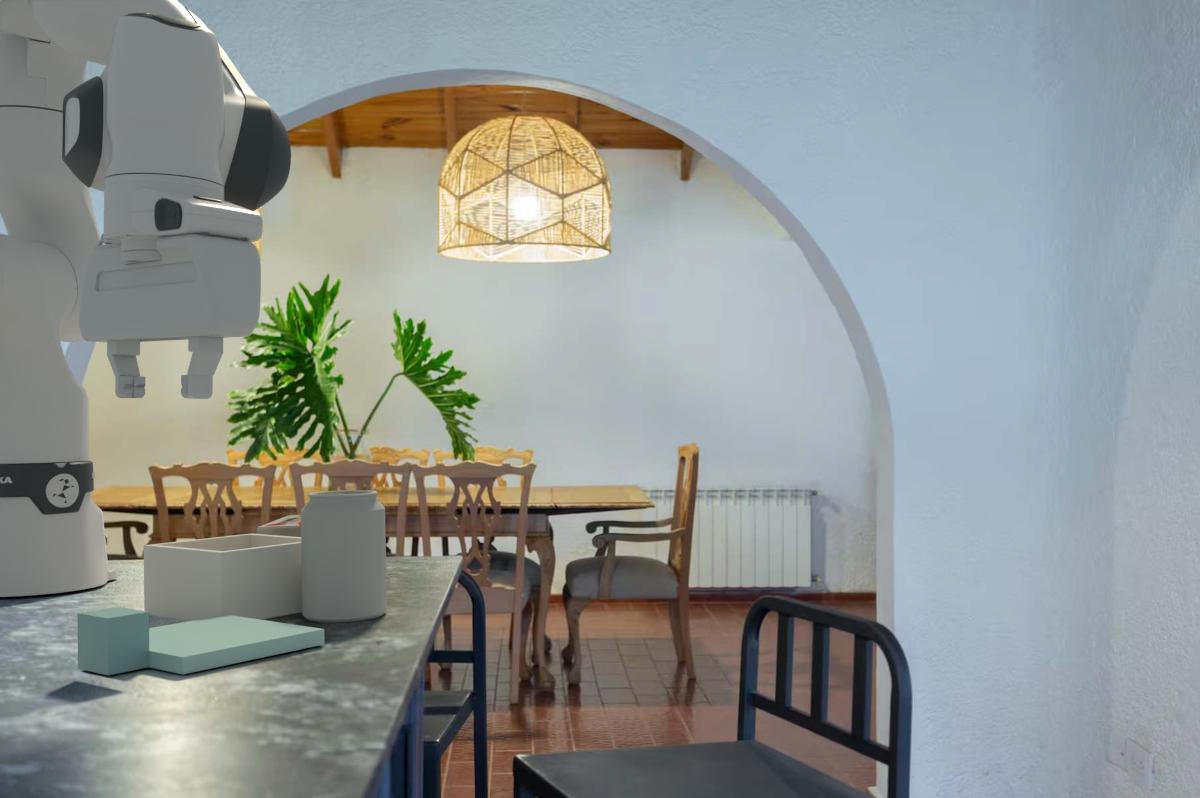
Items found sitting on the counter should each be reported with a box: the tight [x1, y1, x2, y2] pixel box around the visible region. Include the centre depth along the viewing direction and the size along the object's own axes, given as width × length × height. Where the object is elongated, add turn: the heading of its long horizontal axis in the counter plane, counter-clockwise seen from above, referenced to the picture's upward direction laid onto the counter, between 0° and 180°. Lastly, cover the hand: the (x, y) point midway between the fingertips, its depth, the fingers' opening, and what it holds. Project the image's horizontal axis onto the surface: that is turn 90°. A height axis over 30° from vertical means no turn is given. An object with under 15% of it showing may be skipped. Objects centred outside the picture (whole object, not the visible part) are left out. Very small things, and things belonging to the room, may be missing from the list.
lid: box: [76, 606, 325, 676], centre depth 89 cm, size 13×16×5 cm
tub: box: [143, 533, 302, 622], centre depth 110 cm, size 12×12×7 cm
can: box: [300, 489, 388, 624], centre depth 106 cm, size 8×8×12 cm
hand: (162, 398), depth 91 cm, fingers open, 8 cm apart
